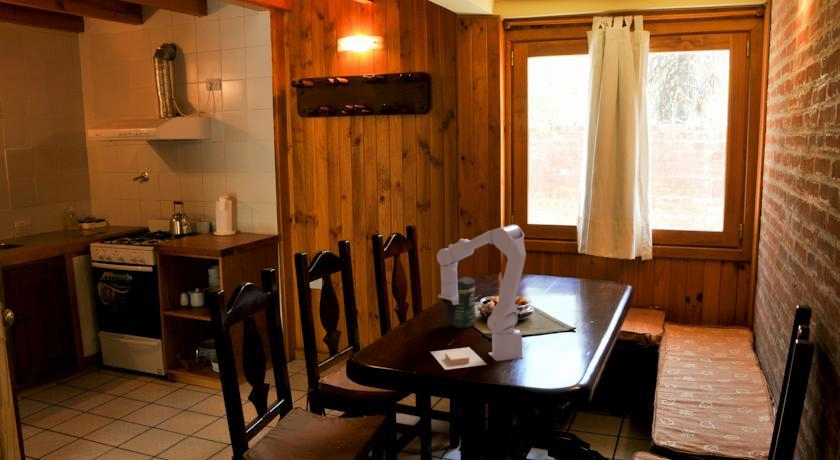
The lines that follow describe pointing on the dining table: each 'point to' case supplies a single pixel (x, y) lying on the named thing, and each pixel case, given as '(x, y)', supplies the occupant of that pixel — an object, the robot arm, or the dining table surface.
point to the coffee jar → (465, 303)
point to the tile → (456, 357)
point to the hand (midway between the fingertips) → (450, 319)
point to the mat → (473, 361)
